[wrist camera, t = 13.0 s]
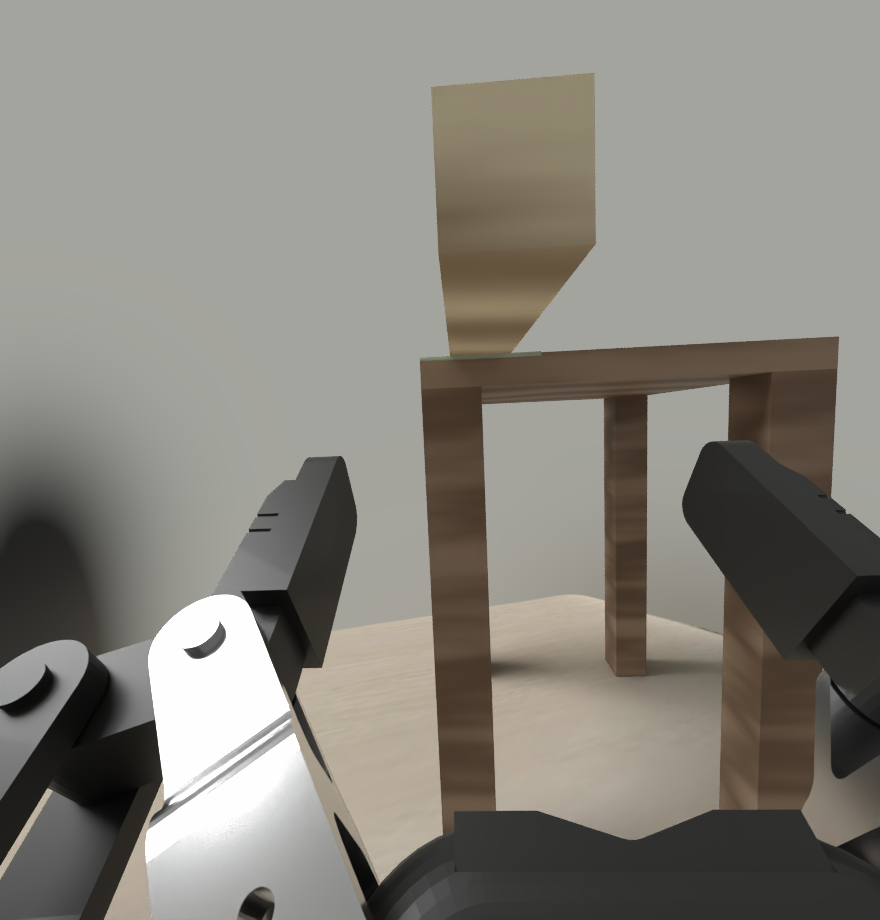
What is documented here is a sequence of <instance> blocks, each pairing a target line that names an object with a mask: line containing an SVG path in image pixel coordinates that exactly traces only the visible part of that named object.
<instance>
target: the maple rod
mask: <svg viewBox="0 0 880 920" xmlns="http://www.w3.org/2000/svg"><path fill="white" fill-rule="evenodd" d="M431 91H432V114H433V136H434V160H435V183H436V203H437V204H436V206H437V227H438V251H439V261H440V271H441V280H442V288H443V297H444V306H445V314H446V323H447V332H448V341H449V349H450V356H464V355H483V354H501V353H511V352H512V351H513V350H514V348H515V347H516V346H517V345H518V343H519V342H520V341H521V339H522V338H523V337H524V336H525V334H526V333H527V332H528V330H529V329H530V328H531V327H532V325H533V324H534V323H535V321H536V320H537V319H538V318H539V316H540V315H541V314H542V312H543V311H544V310H545V308H546V307H547V306H548V305H549V303H550V302H551V301H552V300H553V298H554V297H555V296H556V294H557V293H558V292H559V290H560V289H561V288H562V287H563V285H564V284H565V283H566V281H567V280H568V279H569V278H570V276H571V275H572V274H573V272H574V271H575V270H576V269H577V267H578V266H579V265H580V263H581V262H582V261H583V259H584V258H585V257H586V256H587V254H588V253H589V252H590V251H591V249H592V248H593V247H594V245H595V244H596V236H595V235H596V232H595V230H596V229H595V105H594V104H595V99H594V98H595V96H594V73H587V74H577V75H564V76H553V77H542V78H530V79H518V80H507V81H495V82H484V83H473V84H461V85H451V86H450V85H449V86H438V87H431Z"/></svg>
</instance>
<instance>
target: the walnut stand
mask: <svg viewBox="0 0 880 920" xmlns="http://www.w3.org/2000/svg"><path fill="white" fill-rule="evenodd" d="M838 342H839V337H822V338H803V339H784V340H765V341H747V342H728V343H710V344H690V345H671V346H653V347H634V348H616V349H596V350H578V351H559V352H541V351H539V352H521V353H501V354H483V355H464V356H446V357H427V358H420V370H421V391H422V392H421V393H422V413H423V432H424V454H425V474H426V493H427V494H426V495H427V514H428V534H429V555H430V575H431V597H432V617H433V637H434V658H435V678H436V699H437V719H438V740H439V760H440V780H441V801H442V821H443V835H445V834H447V833H450V832H452V831H454V811H496V798H495V770H494V741H493V712H492V683H491V655H490V626H489V599H488V598H489V597H488V571H487V570H488V569H487V542H486V541H487V540H486V512H485V484H484V483H485V482H484V456H483V426H482V404H496V403H517V402H539V401H560V400H582V399H603V398H604V492H605V493H604V495H605V497H604V498H605V659H606V661H607V662H608V664H609V665H610V667H611V669H612V670H613V672H614V673H615V675H616V676H646V589H647V586H646V580H647V578H646V577H647V565H646V564H647V395H652V394H658V393H666V392H672V391H681V390H688V389H694V388H702V387H709V386H716V385H724V384H730V385H729V427H728V441H740V440H749V441H752V442H754V443H756V444H757V445H758V446H759V447H761V448H762V449H763V450H764V451H765V452H767V453H768V454H769V455H770V456H771V457H772V458H774V459H775V460H776V461H777V462H778V463H780V464H782V465H784V466H785V467H787V468H789V469H791V470H793V471H795V472H797V473H799V474H801V475H803V476H805V477H806V478H808V479H809V480H810V481H811V482H812V483H814V484H815V485H816V486H817V487H819V488H820V489H821V490H822V491H823V492H825V493H826V494H827V498H828V499H830V498H831V487H832V466H833V445H834V426H835V406H836V385H837V365H838V344H839V343H838ZM822 669H823V667H822V666H821V665H820V663H819V662H818V661H817V660H792V661H784V659H783V658H782V656H781V655H780V653H779V652H778V651H777V649H776V648H775V646H774V645H773V644H772V642H771V641H770V639H769V638H768V636H767V635H766V634H765V632H764V631H763V629H762V628H761V627H760V625H759V624H758V622H757V621H756V620H755V618H754V617H753V615H752V614H751V612H750V611H749V610H748V608H747V607H746V605H745V604H744V603H743V601H742V600H741V598H740V597H739V595H738V594H737V593H736V591H735V590H734V588H733V587H732V586H731V584H730V583H729V581H728V580H727V578H726V577H725V594H724V633H723V675H722V717H721V758H720V800H719V810H792V809H800V810H801V811H802V808H803V806H804V804H805V803H806V801H807V799H808V797H809V795H810V793H811V790H812V786H813V781H814V751H815V701H816V680H817V678H818V676H819V674H820V673H821V672H822Z"/></svg>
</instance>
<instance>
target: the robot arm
mask: <svg viewBox="0 0 880 920" xmlns="http://www.w3.org/2000/svg"><path fill="white" fill-rule="evenodd" d="M682 508H683V513H684V517H685V519H686V521H687V523H688V524H689V526H690V528H691V529H692V530H693V532H694V533H695V535H696V536H697V537H698V539H699V540H700V542H701V543H702V545H703V546H704V547H705V549H706V550H707V552H708V553H709V554H710V556H711V557H712V559H713V560H714V561H715V563H716V564H717V566H718V567H719V569H720V570H721V571H722V573H723V574H724V576H725V577H726V578H727V580H728V581H729V583H730V584H731V586H732V587H733V588H734V590H735V591H736V593H737V594H738V595H739V597H740V598H741V600H742V601H743V603H744V604H745V605H746V607H747V608H748V610H749V611H750V612H751V614H752V615H753V617H754V618H755V620H756V621H757V622H758V624H759V625H760V627H761V628H762V629H763V631H764V632H765V634H766V635H767V636H768V638H769V639H770V641H771V642H772V644H773V645H774V646H775V648H776V649H777V651H778V652H779V653H780V655H781V656H782V658H783V659H784V661H792V660H817V661H818V662H819V663H820V665H821V666H822V667H823V668H824V670H823V671H822V672H821V673H820V674H819V676H818V678H817V680H816V701H815V751H814V781H813V786H812V790H811V793H810V795H809V797H808V799H807V801H806V803H805V804H804V806H803V808H802V811H801V810H800V809H792V810H712V811H709V812H707V813H704V814H702V815H699V816H697V817H694V818H692V819H689V820H687V821H684V822H682V823H679V824H677V825H674V826H672V827H669V828H667V829H665V830H662V831H660V832H657V833H655V834H652V835H650V836H647V837H645V838H642V839H638V840H626V839H622V838H619V837H616V836H613V835H610V834H607V833H604V832H601V831H597V830H594V829H591V828H588V827H585V826H582V825H579V824H576V823H573V822H570V821H567V820H564V819H560V818H557V817H554V816H551V815H548V814H545V813H542V812H539V811H454V831H452V832H450V833H447V834H445V835H442V836H440V837H437V838H435V839H434V840H432V841H430V842H428V843H427V844H425V845H423V846H422V847H420V848H418V849H417V850H416V851H414V852H413V853H412V854H411V855H409V856H408V857H407V858H406V859H404V860H403V861H402V862H401V863H400V864H399V865H398V866H397V867H396V868H395V869H394V870H393V871H392V872H391V873H390V874H389V875H388V876H387V877H386V878H385V879H384V880H383V881H382V882H381V883H380V881H379V879H378V876H377V874H376V872H375V869H374V867H373V865H372V862H371V860H370V858H369V855H368V853H367V851H366V848H365V846H364V844H363V841H362V839H361V837H360V834H359V832H358V830H357V828H356V826H355V823H354V821H353V819H352V817H351V815H350V813H349V811H348V808H347V806H346V804H345V802H344V800H343V798H342V796H341V794H340V792H339V790H338V788H337V785H336V783H335V781H334V778H333V776H332V774H331V771H330V769H329V767H328V764H327V762H326V760H325V757H324V755H323V752H322V750H321V748H320V745H319V743H318V741H317V738H316V736H315V734H314V731H313V729H312V727H311V724H310V722H309V719H308V717H307V715H306V712H305V710H304V708H303V705H302V703H301V701H300V698H299V696H298V694H297V692H296V689H297V686H298V682H299V679H300V675H301V672H302V668H322V665H323V661H324V657H325V653H326V649H327V645H328V641H329V638H330V634H331V630H332V625H333V621H334V617H335V613H336V610H337V606H338V601H339V597H340V594H341V590H342V585H343V582H344V577H345V573H346V570H347V566H348V562H349V558H350V554H351V550H352V546H353V542H354V538H355V534H356V526H357V513H356V505H355V501H354V498H353V493H352V489H351V485H350V481H349V476H348V473H347V468H346V464H345V461H344V459H343V458H342V457H341V456H333V457H312V458H311V457H309V458H307V459H306V460H305V462H304V464H303V466H302V468H301V470H300V472H299V474H298V476H297V478H296V480H287V481H284V482H283V483H282V484H280V485H279V486H278V487H277V488H276V489H275V490H274V491H273V492H271V493H270V494H269V495H268V496H267V498H266V499H265V501H264V503H263V505H262V507H261V508H260V510H259V512H258V514H257V515H258V517H257V518H255V519H254V521H253V523H252V524H251V526H250V528H249V533H247V534H246V535H245V537H244V539H243V541H242V542H241V544H240V546H239V548H238V550H237V551H236V553H235V555H234V557H233V558H232V560H231V562H230V564H229V566H228V567H227V569H226V571H225V573H224V575H223V576H222V578H221V580H220V582H219V583H218V585H217V587H216V589H215V591H214V593H213V594H212V596H211V597H209V598H206V599H203V600H200V601H198V602H196V603H194V604H192V605H190V606H188V607H187V608H185V609H184V610H182V611H181V612H179V613H178V614H177V615H176V616H174V617H173V618H172V619H171V620H170V621H169V622H168V623H167V624H166V625H165V626H164V627H163V629H162V630H161V631H160V632H159V634H158V636H157V637H156V638H154V639H151V640H147V641H144V642H141V643H138V644H134V645H131V646H128V647H125V648H121V649H118V650H115V651H112V652H109V653H105V654H102V655H99V656H95V655H94V654H93V653H92V652H91V651H90V650H89V649H87V648H86V647H85V646H84V645H83V644H81V643H80V642H78V641H74V640H60V641H54V642H51V643H47V644H44V645H41V646H39V647H37V648H34V649H32V650H30V651H28V652H26V653H24V654H22V655H21V656H19V657H17V658H16V659H14V660H12V661H11V662H9V663H8V664H7V665H5V666H3V667H2V668H1V669H0V865H1V864H2V862H3V860H4V859H5V857H6V855H7V854H8V852H9V850H10V849H11V847H12V845H13V844H14V842H15V841H16V839H17V837H18V836H19V834H20V832H21V831H22V829H23V827H24V826H25V824H26V822H27V821H28V819H29V817H30V816H31V814H32V812H33V811H34V809H35V808H36V806H37V804H38V803H39V801H40V799H41V798H42V796H43V794H44V793H45V791H46V789H47V788H49V789H51V790H53V792H52V794H51V795H50V797H49V799H48V800H47V802H46V804H45V805H44V807H43V809H42V811H41V812H40V814H39V816H38V817H37V819H36V821H35V822H34V824H33V826H32V827H31V829H30V831H29V832H28V834H27V836H26V837H25V839H24V841H23V843H22V844H21V846H20V848H19V849H18V851H17V853H16V854H15V856H14V858H13V859H12V861H11V863H10V864H9V866H8V868H7V869H6V871H5V873H4V875H3V876H2V878H1V880H0V920H104V918H105V915H106V913H107V910H108V908H109V906H110V903H111V901H112V899H113V896H114V894H115V891H116V889H117V887H118V884H119V882H120V880H121V877H122V875H123V873H124V870H125V868H126V865H127V863H128V861H129V858H130V856H131V854H132V851H133V849H134V846H135V844H136V842H137V839H138V837H139V835H140V832H141V830H142V827H143V825H144V823H145V820H146V818H147V816H148V813H149V811H150V808H151V806H152V804H153V801H154V799H155V797H156V794H157V792H158V790H159V787H160V785H161V782H162V780H164V789H165V800H164V805H163V807H162V809H161V810H160V811H158V812H157V813H155V814H154V816H153V817H152V818H151V821H150V823H149V826H148V830H147V837H146V864H147V875H148V887H149V898H150V910H151V920H880V538H879V537H878V536H877V535H876V534H874V533H873V532H872V531H871V530H869V529H868V528H867V527H866V526H864V525H863V524H862V523H861V522H860V521H859V520H857V519H856V518H855V517H854V516H852V515H851V514H846V512H845V511H846V510H845V509H844V508H843V507H842V506H840V505H839V504H838V503H837V502H836V501H834V500H833V499H832V498H830V499H828V498H827V494H826V493H825V492H823V491H822V490H821V489H820V488H819V487H817V486H816V485H815V484H814V483H812V482H811V481H810V480H809V479H808V478H806V477H805V476H803V475H801V474H799V473H797V472H795V471H793V470H791V469H789V468H787V467H785V466H784V465H782V464H780V463H778V462H777V461H776V460H775V459H774V458H772V457H771V456H770V455H769V454H768V453H767V452H765V451H764V450H763V449H762V448H761V447H759V446H758V445H757V444H756V443H754V442H752V441H749V440H740V441H719V442H718V441H716V442H709V443H707V444H706V445H705V446H704V447H703V448H702V450H701V452H700V455H699V458H698V460H697V462H696V465H695V467H694V470H693V473H692V475H691V478H690V480H689V483H688V485H687V488H686V490H685V493H684V496H683V501H682Z"/></svg>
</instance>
